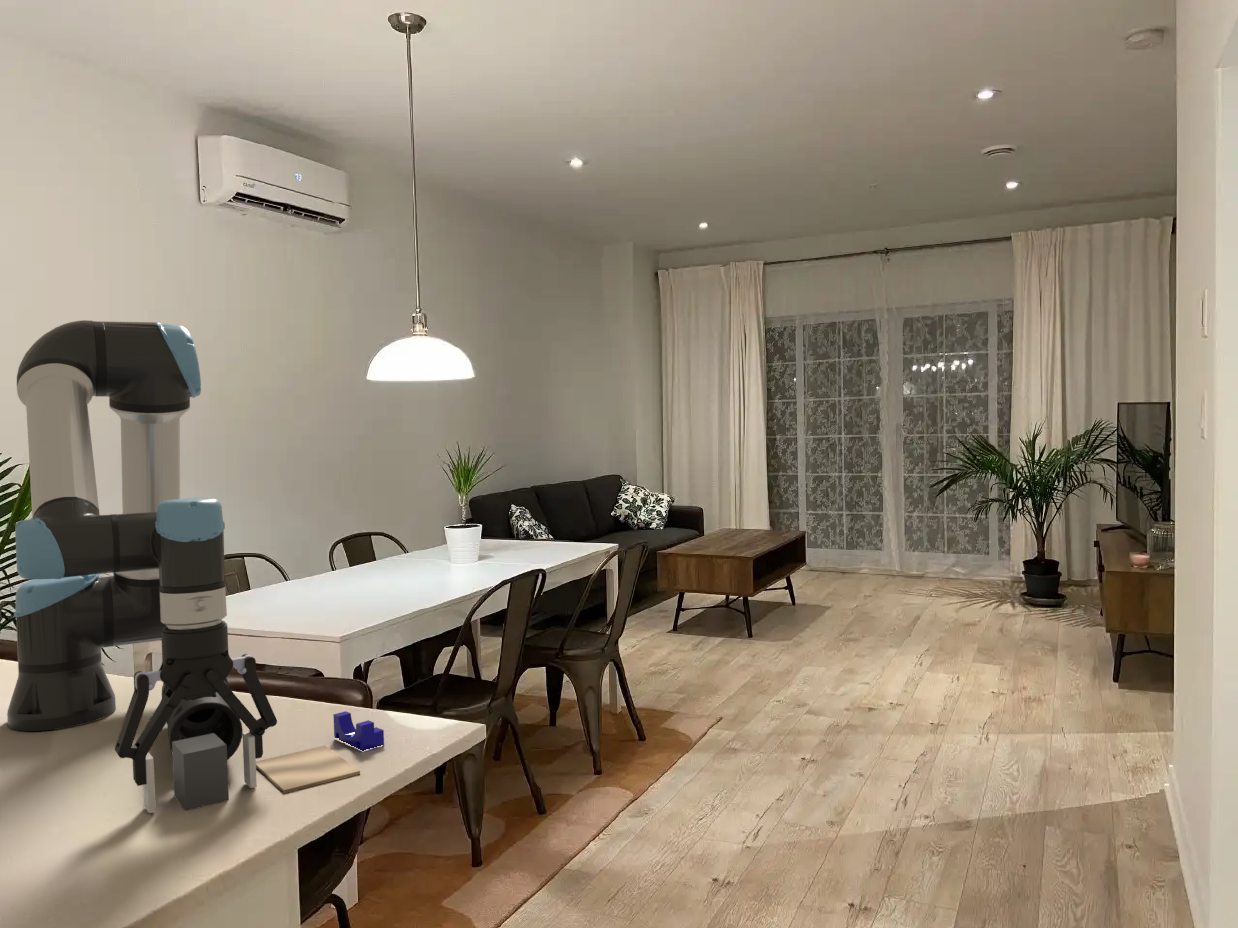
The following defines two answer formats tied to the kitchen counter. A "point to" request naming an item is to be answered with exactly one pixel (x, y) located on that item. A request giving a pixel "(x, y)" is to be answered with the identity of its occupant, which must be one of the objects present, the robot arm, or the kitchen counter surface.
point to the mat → (305, 768)
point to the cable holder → (357, 732)
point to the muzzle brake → (205, 721)
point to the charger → (200, 771)
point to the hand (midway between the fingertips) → (201, 796)
